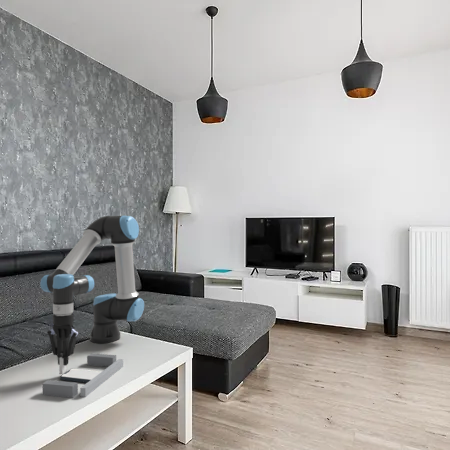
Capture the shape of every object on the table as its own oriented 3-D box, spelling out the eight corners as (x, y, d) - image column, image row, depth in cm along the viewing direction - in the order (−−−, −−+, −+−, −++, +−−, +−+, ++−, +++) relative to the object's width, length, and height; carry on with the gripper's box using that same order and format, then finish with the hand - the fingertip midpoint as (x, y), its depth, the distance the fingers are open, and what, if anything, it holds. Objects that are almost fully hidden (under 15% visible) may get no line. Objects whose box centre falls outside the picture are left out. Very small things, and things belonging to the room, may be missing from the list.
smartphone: (107, 375, 150) (72, 371, 153) (107, 371, 149) (72, 367, 153) (95, 385, 141) (58, 380, 144) (95, 380, 141) (58, 376, 144)
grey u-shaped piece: (91, 362, 163) (91, 353, 163) (124, 365, 159) (124, 355, 159) (42, 394, 132) (42, 383, 132) (83, 398, 129) (82, 387, 129)
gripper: (42, 314, 145) (42, 375, 146) (72, 316, 143) (71, 378, 143) (55, 310, 153) (54, 367, 153) (83, 312, 150) (83, 370, 150)
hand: (63, 372), depth 148 cm, fingers closed
